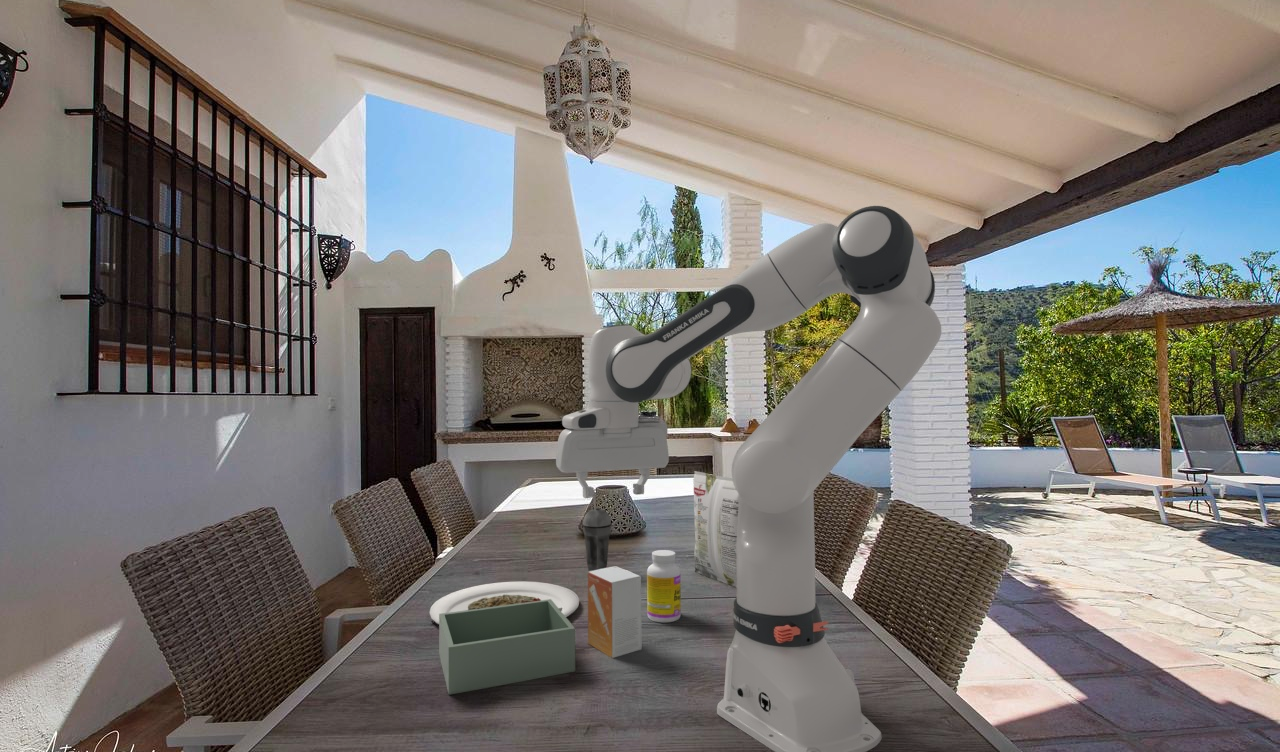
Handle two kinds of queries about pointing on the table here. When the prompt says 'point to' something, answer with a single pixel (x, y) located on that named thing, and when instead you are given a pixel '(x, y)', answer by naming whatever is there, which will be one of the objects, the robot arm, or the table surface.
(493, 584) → the plated food
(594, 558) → the beverage cup
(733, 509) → the frozen beans
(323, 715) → the table surface
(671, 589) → the supplement bottle
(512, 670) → the tote
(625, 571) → the small box
